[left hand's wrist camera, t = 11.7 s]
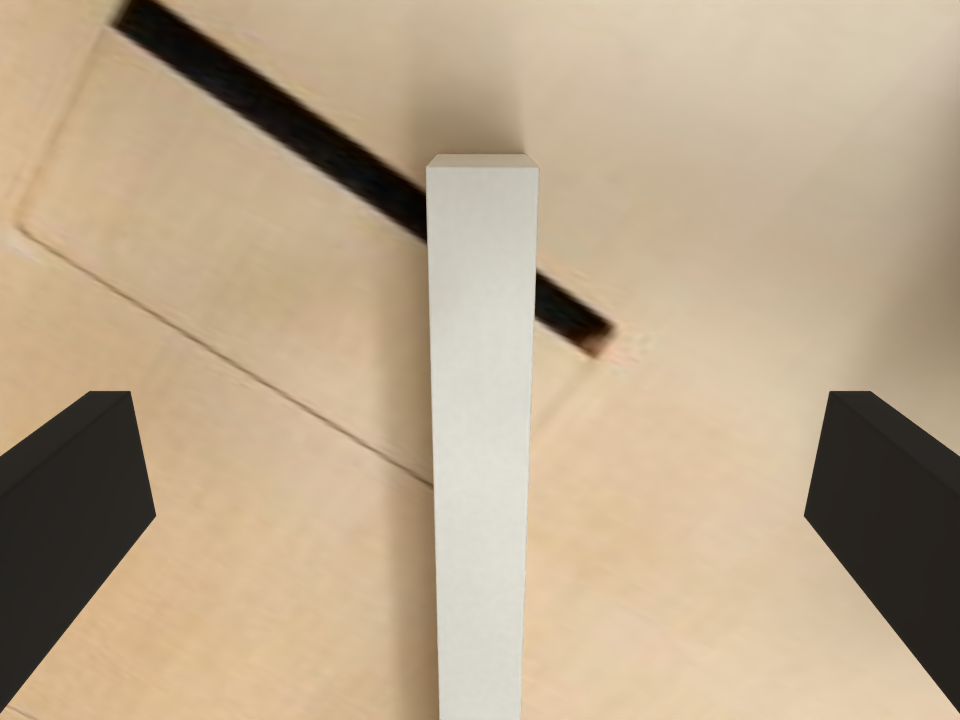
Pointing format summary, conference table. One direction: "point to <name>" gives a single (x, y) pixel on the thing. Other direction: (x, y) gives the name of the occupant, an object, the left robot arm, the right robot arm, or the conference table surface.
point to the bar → (481, 421)
